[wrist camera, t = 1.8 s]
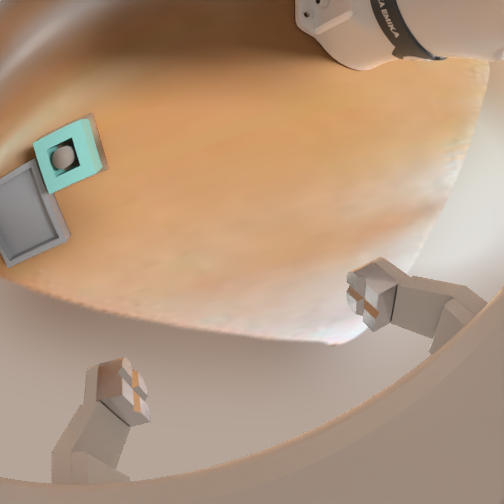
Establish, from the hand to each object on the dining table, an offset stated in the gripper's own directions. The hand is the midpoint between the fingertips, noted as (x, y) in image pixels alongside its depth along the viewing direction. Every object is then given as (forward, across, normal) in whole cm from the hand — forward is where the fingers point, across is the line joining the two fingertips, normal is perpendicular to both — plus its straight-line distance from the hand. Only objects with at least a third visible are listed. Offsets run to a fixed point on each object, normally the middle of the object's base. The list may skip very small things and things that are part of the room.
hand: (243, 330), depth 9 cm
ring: (+26, +11, -7) cm, 29 cm away
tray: (+27, +21, -3) cm, 34 cm away
